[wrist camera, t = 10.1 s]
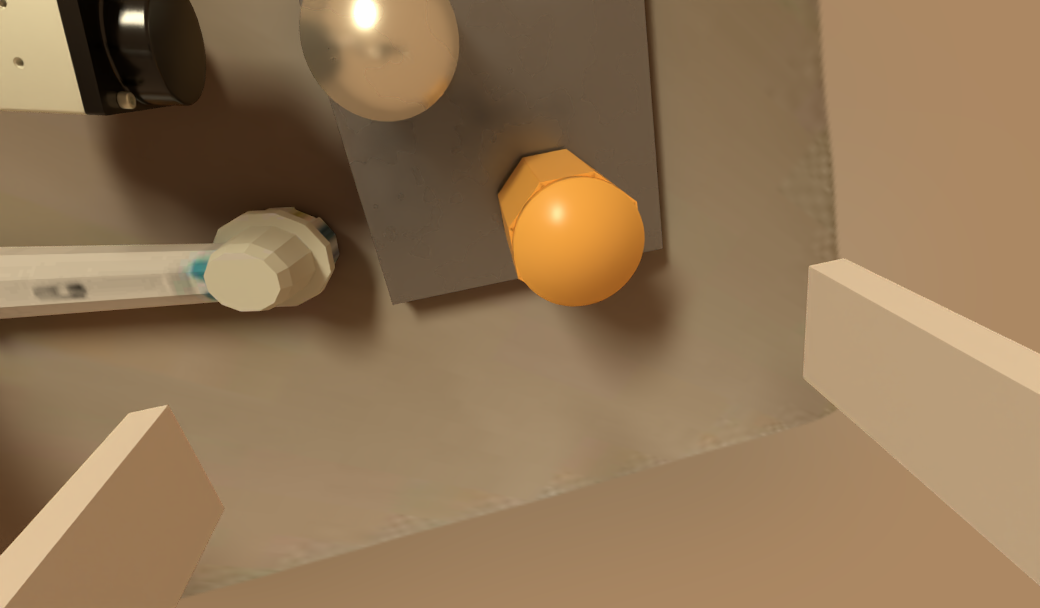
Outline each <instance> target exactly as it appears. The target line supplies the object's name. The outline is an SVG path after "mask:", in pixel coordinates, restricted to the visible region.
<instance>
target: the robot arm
mask: <svg viewBox="0 0 1040 608" xmlns="http://www.w3.org/2000/svg"><path fill="white" fill-rule="evenodd" d="M803 378H804V379H805V380H806V381H807V382H808V383H809V384H810V385H812V386H813V387H814V388H815V389H816V390H817V391H818V392H820V393H821V394H822V395H823V396H824V397H825V398H826V399H828V400H829V401H830V402H831V403H832V404H833V405H834V406H836V407H837V408H838V409H839V410H840V411H841V412H842V413H844V414H845V415H846V416H847V417H848V418H849V419H850V420H851V421H853V422H854V423H855V424H856V425H857V426H858V427H859V428H861V429H862V430H863V431H864V432H865V433H866V434H867V435H869V436H870V437H871V438H872V439H873V440H874V441H875V442H877V443H878V444H879V445H880V446H881V447H882V448H883V449H885V450H886V451H887V452H888V453H889V454H890V455H891V456H892V457H894V458H895V459H896V460H897V461H898V462H899V463H900V464H902V465H903V466H904V467H905V468H906V469H908V471H910V472H911V473H912V474H913V475H914V476H915V477H917V478H918V479H919V480H920V481H921V482H922V483H923V484H925V486H927V487H928V488H929V489H930V490H931V491H932V492H933V493H935V494H936V495H937V496H938V497H939V498H940V499H941V500H943V501H944V502H945V503H946V504H947V505H948V506H949V507H951V508H952V509H953V510H954V511H955V512H956V513H957V514H959V515H960V516H961V517H962V518H963V519H964V520H965V521H966V522H968V523H969V524H970V525H971V526H972V527H973V528H975V529H976V530H977V531H978V532H979V533H980V534H981V535H982V536H984V537H985V538H986V539H987V540H988V541H989V542H990V543H992V544H993V545H994V546H995V547H996V548H997V549H999V551H1001V552H1002V553H1003V554H1004V555H1005V556H1006V557H1007V558H1009V559H1010V560H1011V561H1012V562H1013V563H1014V564H1015V565H1017V566H1018V567H1019V568H1020V569H1021V570H1022V571H1023V572H1025V573H1026V574H1027V575H1028V576H1029V577H1030V578H1031V579H1032V580H1034V581H1035V582H1036V583H1037V584H1038V585H1039V586H1040V354H1039V353H1037V352H1035V351H1033V350H1031V349H1029V348H1027V347H1025V346H1023V345H1020V344H1019V343H1016V342H1014V341H1012V340H1010V339H1008V338H1006V337H1004V336H1002V335H1000V334H998V333H996V332H994V331H992V330H990V329H988V328H986V327H983V326H981V325H980V324H977V323H975V322H973V321H971V320H969V319H967V318H965V317H963V316H961V315H959V314H957V313H955V312H953V311H951V310H949V309H947V308H945V307H943V306H941V305H939V304H936V303H935V302H933V301H931V300H928V299H926V298H924V297H922V296H920V295H918V294H916V293H914V292H912V291H910V290H908V289H906V288H904V287H902V286H899V285H898V284H896V283H894V282H892V281H890V280H888V279H885V278H883V277H881V276H879V275H877V274H875V273H873V272H871V271H869V270H867V269H865V268H863V267H861V266H859V265H857V264H855V263H853V262H851V261H849V260H847V259H845V258H844V259H839V260H834V261H830V262H825V263H821V264H816V265H811V266H809V274H808V293H807V312H806V331H805V350H804V369H803ZM224 509H225V508H224V506H223V505H222V503H221V501H220V499H219V497H218V495H217V493H216V492H215V490H214V488H213V486H212V484H211V482H210V481H209V479H208V477H207V475H206V473H205V471H204V470H203V468H202V466H201V464H200V462H199V460H198V458H197V457H196V455H195V453H194V451H193V449H192V447H191V446H190V444H189V442H188V440H187V438H186V436H185V435H184V433H183V431H182V429H181V427H180V425H179V423H178V422H177V420H176V418H175V416H174V414H173V412H172V411H171V409H170V407H169V405H165V406H160V407H155V408H151V409H146V410H141V411H137V412H132V413H129V414H128V415H127V416H126V417H125V418H124V419H123V420H122V421H121V422H120V424H119V425H118V426H117V427H116V428H115V429H114V430H113V431H112V432H111V434H110V435H109V436H108V437H107V438H106V439H105V440H104V441H103V442H102V444H101V445H100V446H99V447H98V448H97V449H96V450H95V451H94V452H93V454H92V455H91V456H90V457H89V458H88V459H87V460H86V461H85V462H84V464H83V465H82V466H81V467H80V468H79V469H78V470H77V471H76V472H75V474H74V475H73V476H72V477H71V478H70V479H69V480H68V481H67V482H66V484H65V485H64V486H63V487H62V488H61V489H60V490H59V491H58V492H57V494H56V495H55V496H54V497H53V498H52V499H51V500H50V501H49V502H48V503H47V505H46V506H45V507H44V508H43V509H42V510H41V511H40V512H39V513H38V515H37V516H36V517H35V518H34V519H33V520H32V521H31V522H30V523H29V525H28V526H27V527H26V528H25V529H24V530H23V531H22V532H21V533H20V535H19V536H18V537H17V538H16V539H15V540H14V541H13V542H12V543H11V545H10V546H9V547H8V548H7V549H6V550H5V551H4V552H3V553H2V555H1V556H0V608H176V606H177V604H178V602H179V600H180V598H181V596H182V594H183V592H184V590H185V588H186V586H187V584H188V582H189V579H190V577H191V575H192V573H193V571H194V569H195V567H196V565H197V563H198V561H199V559H200V557H201V555H202V553H203V551H204V549H205V547H206V545H207V543H208V541H209V539H210V537H211V535H212V533H213V531H214V529H215V527H216V525H217V523H218V521H219V519H220V517H221V515H222V513H223V511H224Z"/></svg>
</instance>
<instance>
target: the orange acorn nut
mask: <svg viewBox="0 0 1040 608" xmlns="http://www.w3.org/2000/svg"><path fill="white" fill-rule="evenodd" d="M498 199H499V204H500V209H501V214H502V219H503V224H504V229H505V234H506V238H507V241H508V245H509V248H510V252H511V255H512V259H513V262H514V266H515V269H516V273H517V276H518V279H520V280H522V281H523V282H525V283H526V284H527V285H528V287H529V288H530V289H531V290H532V291H534V292H535V293H536V294H537V295H539V296H540V297H542V298H544V299H545V300H547V301H550V302H552V303H555V304H559V305H564V306H584V305H590V304H593V303H597V302H599V301H602V300H604V299H606V298H608V297H610V296H611V295H613V294H614V293H616V292H617V291H618V290H620V289H621V288H622V287H623V286H624V285H625V284H626V283H627V282H628V281H629V279H630V278H631V277H632V275H633V274H634V272H635V271H636V269H637V267H638V265H639V262H640V260H641V257H642V253H643V249H644V241H645V235H644V226H643V222H642V219H641V216H640V213H639V211H638V207H637V201H635V200H634V199H633V198H631V197H630V196H629V195H628V194H626V193H625V192H624V191H622V190H621V189H620V188H618V187H617V186H616V185H614V184H613V183H612V182H611V181H609V180H608V179H607V178H605V177H604V176H603V175H601V174H600V173H599V172H597V171H596V170H595V169H593V168H592V167H591V166H589V165H588V164H586V163H585V162H584V161H582V160H581V159H579V158H578V157H577V156H575V155H574V154H573V153H571V152H570V151H568V150H567V149H562V150H557V151H552V152H547V153H543V154H538V155H533V156H528V157H523V158H522V159H521V161H520V162H519V164H518V165H517V167H516V168H515V169H514V171H513V172H512V174H511V175H510V177H509V178H508V180H507V181H506V183H505V184H504V186H503V187H502V189H501V190H500V192H499V193H498Z"/></svg>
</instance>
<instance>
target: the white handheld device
mask: <svg viewBox="0 0 1040 608" xmlns="http://www.w3.org/2000/svg"><path fill="white" fill-rule="evenodd" d="M339 255H340V254H339V249H338V244H337V239H336V234H335V233H334V232H333V231H332V230H331V229H330V228H329V227H328V225H327V224H326V223H325V222H324V221H323V220H322V219H321V218H320V217H318V218H315V217H313V216H310V215H308V214H305V213H303V212H300V211H298V210H295V207H282V208H269V209H267V210H262V211H248V212H246V213H244V214H242V215H240V216H239V217H237V218H235V219H234V220H232V221H230V222H229V223H227V224H225V225H224V226H222V227H221V228H219V229H218V231H217V234H216V236H215V239H214V241H213V243H210V244H151V245H92V246H33V247H0V319H4V318H17V317H30V316H43V315H56V314H69V313H82V312H95V311H107V310H120V309H133V308H146V307H159V306H172V305H185V304H198V303H210V302H220V303H221V304H222V305H224V306H227V307H230V308H232V309H235V310H238V311H263V310H270V309H271V308H273V307H289V306H298V305H300V304H302V303H304V302H305V301H307V300H309V299H311V298H313V297H315V296H317V295H318V294H320V293H321V292H322V291H323V290H324V289H325V287H326V285H327V283H328V281H329V279H330V277H331V275H332V273H333V271H334V269H335V265H334V264H335V262H336V261H337V259H338V257H339Z"/></svg>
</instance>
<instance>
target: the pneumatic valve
mask: <svg viewBox="0 0 1040 608" xmlns="http://www.w3.org/2000/svg"><path fill="white" fill-rule="evenodd" d="M205 76H206V57H205V49H204V42H203V37H202V33H201V29H200V26H199V22H198V20H197V17H196V14H195V11H194V9H193V7H192V5H191V3H190V1H189V0H0V111H14V112H38V113H62V114H86V115H113V114H119V113H126V112H133V111H140V110H147V109H153V108H160V107H167V106H174V105H178V106H190V105H192V104H194V103H195V102H197V101H198V99H199V98H200V96H201V94H202V91H203V88H204V84H205Z"/></svg>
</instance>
